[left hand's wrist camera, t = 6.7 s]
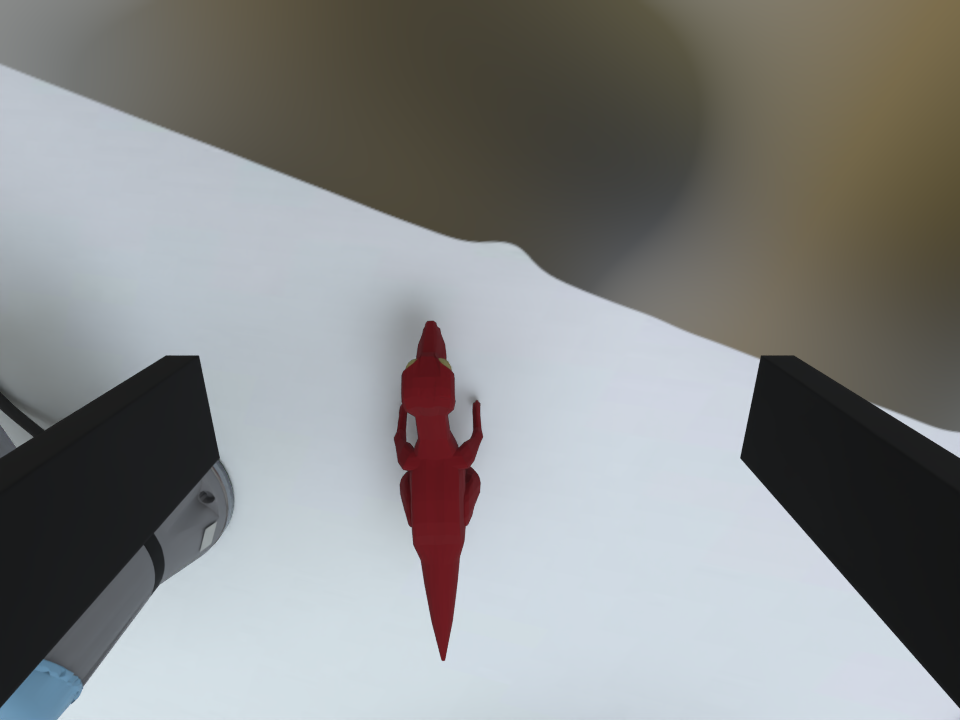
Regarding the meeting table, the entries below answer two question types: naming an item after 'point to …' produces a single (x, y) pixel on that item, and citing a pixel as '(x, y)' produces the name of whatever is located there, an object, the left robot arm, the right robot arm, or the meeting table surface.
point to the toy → (436, 476)
